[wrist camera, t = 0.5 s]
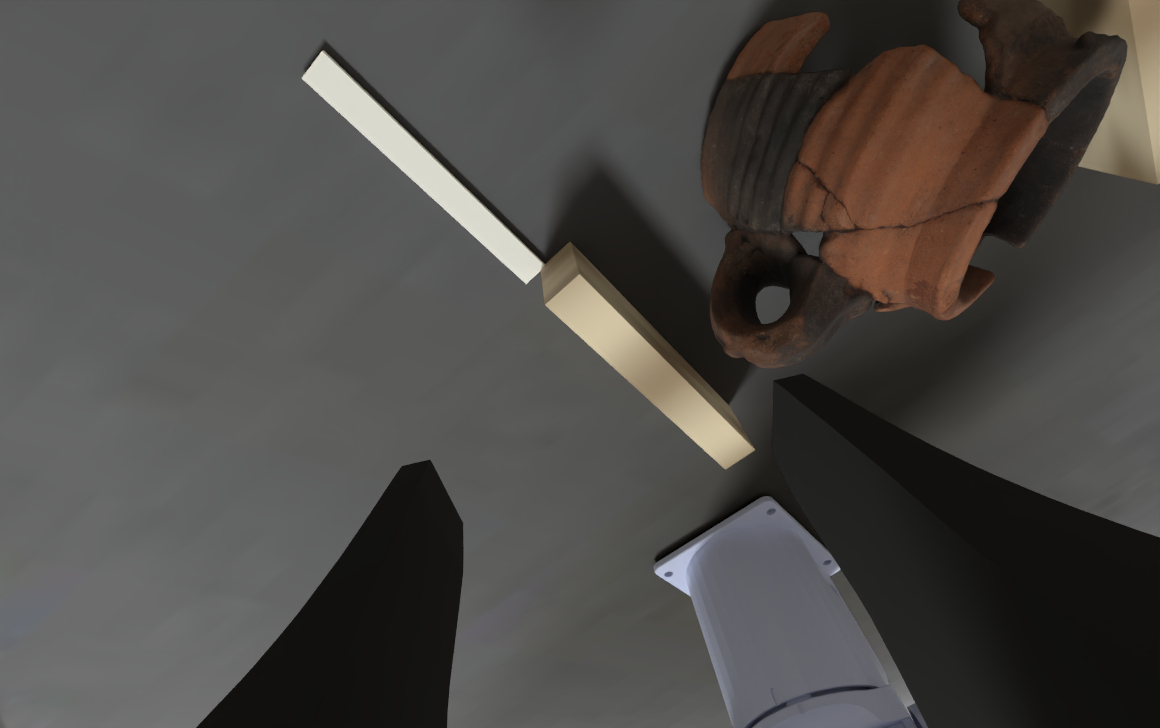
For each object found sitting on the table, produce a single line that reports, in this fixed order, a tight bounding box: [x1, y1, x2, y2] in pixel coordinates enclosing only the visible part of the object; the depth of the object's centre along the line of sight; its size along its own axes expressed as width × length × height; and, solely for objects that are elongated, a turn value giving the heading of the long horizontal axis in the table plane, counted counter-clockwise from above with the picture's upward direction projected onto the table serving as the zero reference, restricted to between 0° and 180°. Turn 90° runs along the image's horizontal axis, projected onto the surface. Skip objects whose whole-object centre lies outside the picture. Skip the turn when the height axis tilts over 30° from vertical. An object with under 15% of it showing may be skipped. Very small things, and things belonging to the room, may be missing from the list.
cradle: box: [541, 0, 1160, 470], centre depth 17 cm, size 11×18×3 cm, turn 132°
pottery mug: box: [701, 0, 1128, 368], centre depth 16 cm, size 12×10×8 cm
